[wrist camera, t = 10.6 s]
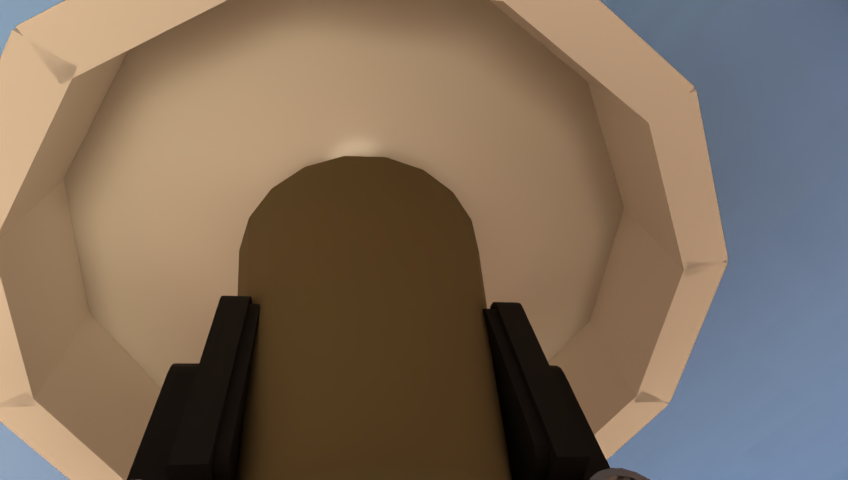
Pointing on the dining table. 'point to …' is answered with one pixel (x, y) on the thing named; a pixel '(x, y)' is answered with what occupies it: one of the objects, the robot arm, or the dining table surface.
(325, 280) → the brown rounded piece
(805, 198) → the dining table surface
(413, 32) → the bowl
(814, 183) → the dining table surface
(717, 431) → the dining table surface
